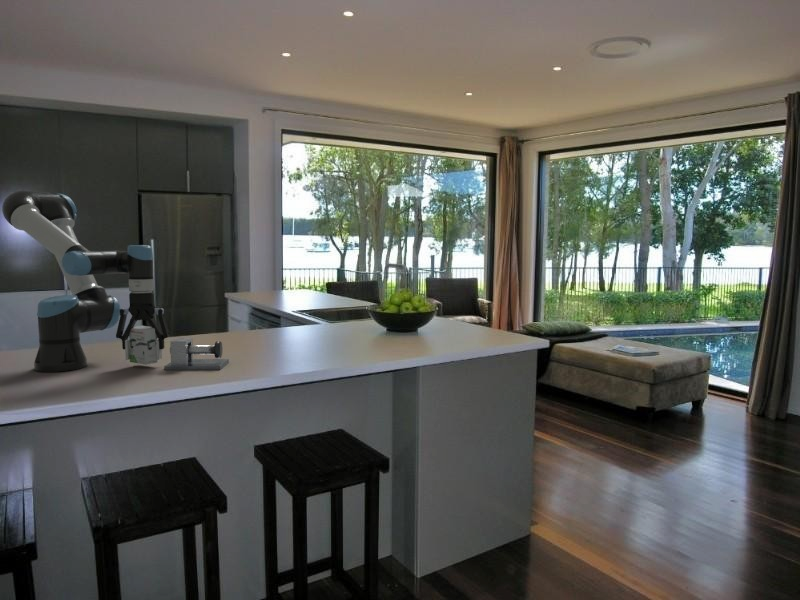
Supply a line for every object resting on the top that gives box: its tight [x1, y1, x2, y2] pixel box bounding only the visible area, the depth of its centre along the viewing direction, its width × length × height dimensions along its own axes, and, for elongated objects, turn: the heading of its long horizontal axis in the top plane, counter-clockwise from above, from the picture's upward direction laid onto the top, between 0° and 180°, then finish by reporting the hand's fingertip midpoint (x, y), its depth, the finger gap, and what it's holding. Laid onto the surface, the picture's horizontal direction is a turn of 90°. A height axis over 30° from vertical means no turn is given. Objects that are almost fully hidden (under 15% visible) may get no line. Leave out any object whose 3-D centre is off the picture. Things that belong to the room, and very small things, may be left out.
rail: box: [163, 337, 230, 371], centre depth 201 cm, size 18×12×9 cm, turn 93°
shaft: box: [169, 340, 223, 359], centre depth 201 cm, size 16×6×6 cm, turn 93°
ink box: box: [128, 325, 159, 365], centre depth 200 cm, size 9×5×12 cm, turn 60°
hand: (143, 358), depth 200 cm, fingers closed on ink box, 9 cm apart
